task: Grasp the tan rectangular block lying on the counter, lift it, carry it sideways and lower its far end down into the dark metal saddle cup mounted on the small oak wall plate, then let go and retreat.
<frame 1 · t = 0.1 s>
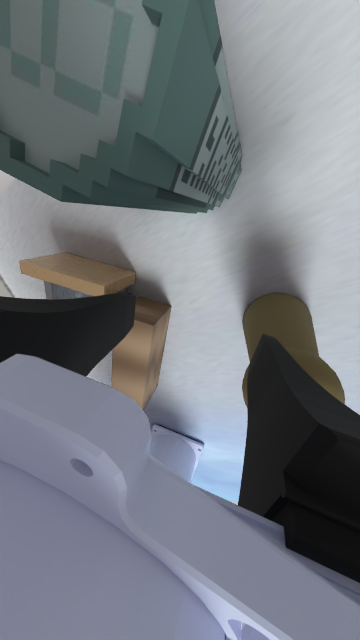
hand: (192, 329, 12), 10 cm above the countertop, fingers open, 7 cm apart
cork: (275, 322, 20), on the countertop
can: (201, 169, 17), on the countertop
tan rectangular block: (149, 344, 26), on the countertop
bracket: (99, 280, 24), on the countertop
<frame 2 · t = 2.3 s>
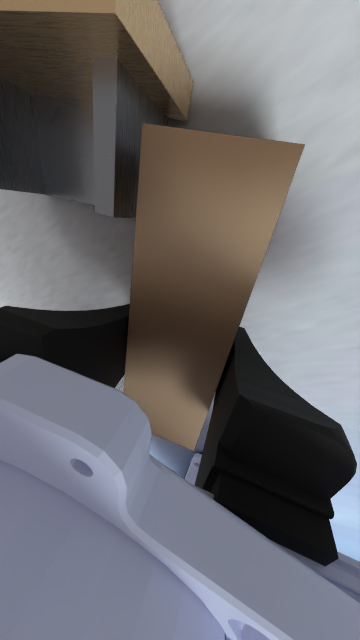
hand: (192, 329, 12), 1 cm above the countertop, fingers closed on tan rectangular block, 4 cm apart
tan rectangular block: (203, 296, 12), on the countertop, touching gripper
bracket: (97, 136, 10), on the countertop
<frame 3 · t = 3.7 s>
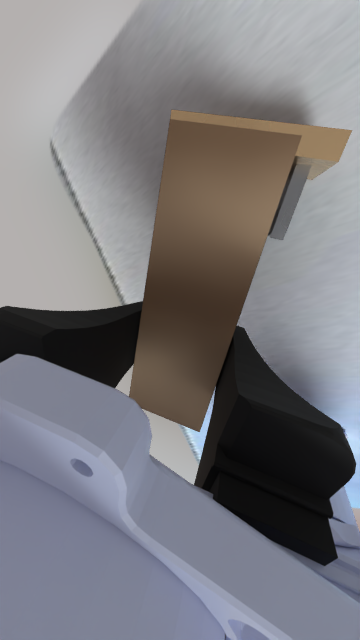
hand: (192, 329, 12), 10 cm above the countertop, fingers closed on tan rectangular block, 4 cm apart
tan rectangular block: (207, 287, 13), point 7 cm above the countertop, tilted 6°, touching gripper
bracket: (244, 185, 16), on the countertop
when the fingers open (3 cm above the countertop, at t = 5.3 s): tan rectangular block stays where it is, resting on bracket.
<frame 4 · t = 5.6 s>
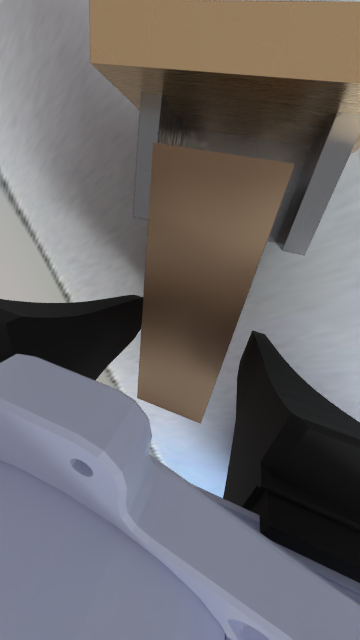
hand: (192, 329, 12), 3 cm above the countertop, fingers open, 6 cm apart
tan rectangular block: (208, 286, 13), point 1 cm above the countertop, touching bracket
bracket: (240, 166, 11), on the countertop
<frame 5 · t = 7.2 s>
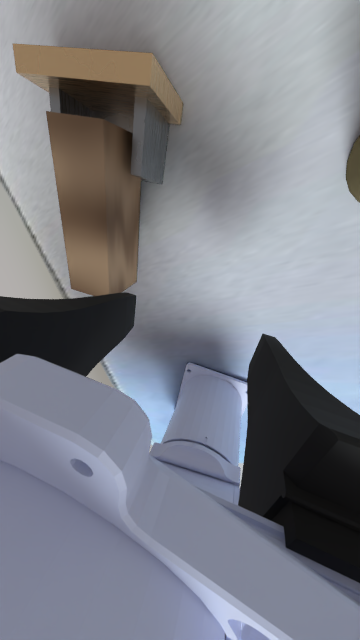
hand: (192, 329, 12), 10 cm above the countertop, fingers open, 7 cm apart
tan rectangular block: (119, 217, 20), point 1 cm above the countertop, touching bracket
bracket: (126, 134, 17), on the countertop
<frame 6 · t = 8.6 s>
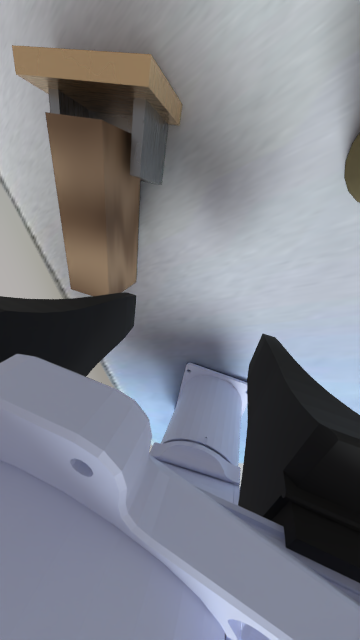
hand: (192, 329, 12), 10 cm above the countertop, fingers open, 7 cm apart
tan rectangular block: (119, 218, 20), point 1 cm above the countertop, touching bracket
bracket: (126, 134, 17), on the countertop
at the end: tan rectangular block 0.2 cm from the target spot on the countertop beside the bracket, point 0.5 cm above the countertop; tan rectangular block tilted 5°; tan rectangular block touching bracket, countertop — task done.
